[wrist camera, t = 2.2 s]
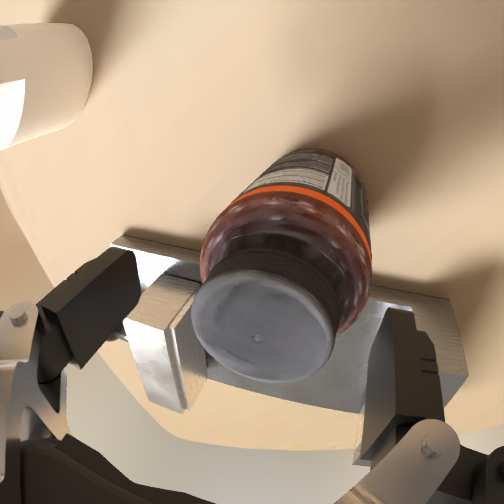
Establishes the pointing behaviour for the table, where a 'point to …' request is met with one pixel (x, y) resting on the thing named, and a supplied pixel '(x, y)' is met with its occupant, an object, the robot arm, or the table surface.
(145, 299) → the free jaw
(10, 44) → the cylinder with rectangular tab
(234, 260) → the supplement bottle
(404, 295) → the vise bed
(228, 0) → the table surface
